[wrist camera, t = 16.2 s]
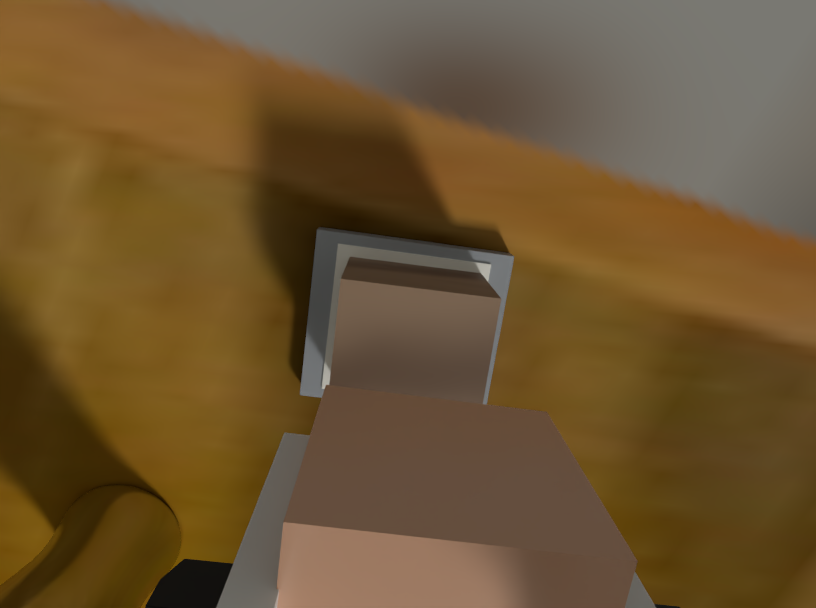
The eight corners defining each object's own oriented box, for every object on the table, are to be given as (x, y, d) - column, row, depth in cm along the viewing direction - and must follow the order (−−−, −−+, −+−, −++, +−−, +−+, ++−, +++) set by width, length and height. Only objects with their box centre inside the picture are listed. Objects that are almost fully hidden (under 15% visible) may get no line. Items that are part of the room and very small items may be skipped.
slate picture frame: (302, 387, 29) (299, 395, 27) (319, 226, 27) (316, 229, 26) (481, 408, 29) (484, 417, 28) (509, 253, 27) (514, 256, 26)
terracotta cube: (326, 384, 13) (283, 522, 8) (546, 412, 13) (637, 561, 8) (303, 576, 14) (254, 800, 9) (506, 598, 14) (564, 825, 9)
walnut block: (349, 256, 26) (340, 278, 21) (480, 273, 26) (501, 298, 21) (336, 380, 27) (324, 428, 22) (460, 394, 28) (475, 444, 23)
